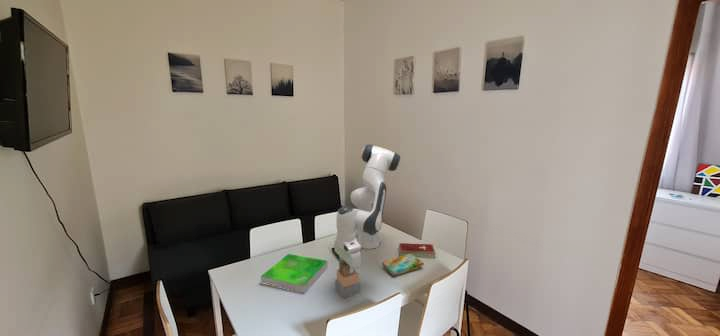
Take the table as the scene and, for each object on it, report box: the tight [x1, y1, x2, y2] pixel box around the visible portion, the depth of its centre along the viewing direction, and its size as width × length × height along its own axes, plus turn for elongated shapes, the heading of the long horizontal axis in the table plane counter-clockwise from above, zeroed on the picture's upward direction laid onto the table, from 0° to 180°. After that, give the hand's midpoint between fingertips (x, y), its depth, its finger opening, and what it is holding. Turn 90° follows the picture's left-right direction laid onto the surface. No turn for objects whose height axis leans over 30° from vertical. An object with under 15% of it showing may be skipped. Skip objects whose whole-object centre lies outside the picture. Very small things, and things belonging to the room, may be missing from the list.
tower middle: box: [335, 268, 360, 288], centre depth 142 cm, size 8×8×5 cm
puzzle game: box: [381, 254, 424, 277], centre depth 163 cm, size 12×5×20 cm
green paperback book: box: [260, 253, 328, 294], centre depth 156 cm, size 25×25×5 cm
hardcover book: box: [398, 242, 436, 259], centre depth 180 cm, size 12×21×4 cm, turn 85°
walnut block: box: [338, 260, 356, 277], centre depth 141 cm, size 6×6×5 cm
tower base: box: [334, 278, 361, 299], centre depth 143 cm, size 9×9×5 cm
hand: (346, 268), depth 141 cm, fingers open, 7 cm apart
